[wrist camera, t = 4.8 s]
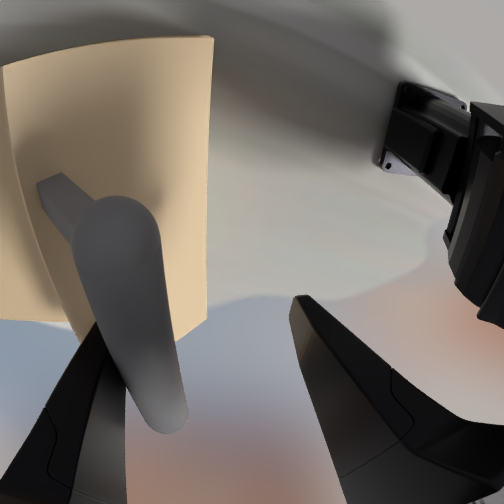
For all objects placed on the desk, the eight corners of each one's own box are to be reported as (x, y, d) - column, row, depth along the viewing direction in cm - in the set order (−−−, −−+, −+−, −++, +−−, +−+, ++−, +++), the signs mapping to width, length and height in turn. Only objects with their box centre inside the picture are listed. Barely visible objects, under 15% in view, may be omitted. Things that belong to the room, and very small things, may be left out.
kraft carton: (205, 37, 13) (211, 35, 9) (199, 252, 22) (204, 319, 17) (-21, 76, 10) (-83, 104, 6) (22, 258, 19) (-5, 318, 15)
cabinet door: (204, 38, 9) (349, 53, 6) (200, 313, 17) (275, 369, 15) (0, 67, 4) (51, 46, 2) (102, 383, 13) (175, 463, 11)
